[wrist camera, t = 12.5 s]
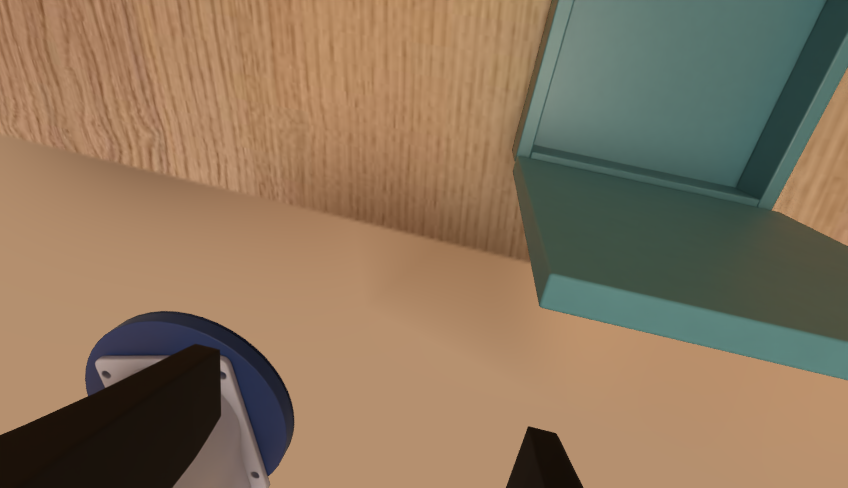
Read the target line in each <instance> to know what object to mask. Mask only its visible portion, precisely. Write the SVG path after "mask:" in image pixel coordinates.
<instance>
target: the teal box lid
mask: <svg viewBox="0 0 848 488" xmlns="http://www.w3.org/2000/svg"><path fill="white" fill-rule="evenodd" d="M513 175H514V180H515V185H516V190H517V195H518V200H519V205H520V210H521V215H522V220H523V225H524V231H525V236H526V241H527V246H528V251H529V256H530V261H531V266H532V271H533V276H534V281H535V286H536V291H537V297H538V302H539V306H540V307H542V308H545V309H549V310H553V311H558V312H562V313H566V314H571V315H574V316H579V317H583V318H588V319H591V320H596V321H600V322H604V323H608V324H613V325H617V326H621V327H625V328H629V329H634V330H638V331H642V332H646V333H651V334H655V335H659V336H663V337H668V338H672V339H676V340H680V341H684V342H688V343H693V344H697V345H701V346H705V347H710V348H714V349H718V350H722V351H727V352H731V353H735V354H739V355H743V356H748V357H752V358H756V359H760V360H765V361H769V362H773V363H777V364H781V365H785V366H790V367H794V368H798V369H802V370H807V371H811V372H815V373H819V374H823V375H828V376H832V377H836V378H841V379H844V380H848V246H846V245H844V244H842V243H840V242H838V241H836V240H834V239H832V238H830V237H828V236H826V235H824V234H822V233H820V232H818V231H816V230H814V229H812V228H810V227H808V226H806V225H804V224H802V223H800V222H798V221H796V220H794V219H792V218H790V217H788V216H786V215H784V214H782V213H780V212H776V211H771V210H767V209H762V208H757V207H753V206H748V205H743V204H739V203H734V202H730V201H725V200H720V199H716V198H711V197H706V196H702V195H697V194H692V193H688V192H683V191H678V190H674V189H669V188H664V187H660V186H655V185H651V184H646V183H641V182H637V181H632V180H627V179H623V178H618V177H613V176H609V175H604V174H599V173H595V172H590V171H585V170H581V169H576V168H571V167H567V166H562V165H558V164H553V163H548V162H544V161H539V160H534V159H530V158H525V157H520V156H517V158H516V161H515V165H514V169H513Z"/></svg>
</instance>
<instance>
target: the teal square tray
mask: <svg viewBox="0 0 848 488" xmlns="http://www.w3.org/2000/svg"><path fill="white" fill-rule="evenodd" d="M847 67H848V0H552V2H551V6H550V10H549V14H548V17H547V21H546V25H545V29H544V32H543V36H542V40H541V44H540V47H539V51H538V55H537V59H536V62H535V66H534V70H533V74H532V77H531V81H530V85H529V89H528V93H527V96H526V100H525V104H524V108H523V111H522V115H521V119H520V123H519V126H518V130H517V134H516V138H515V141H514V145H513V149H512V152H513V156H514V160H515V161H516V158H517V156H520V157H525V158H530V159H534V160H539V161H544V162H548V163H553V164H558V165H562V166H567V167H571V168H576V169H581V170H585V171H590V172H595V173H599V174H604V175H609V176H613V177H618V178H623V179H627V180H632V181H637V182H641V183H646V184H651V185H655V186H660V187H664V188H669V189H674V190H678V191H683V192H688V193H692V194H697V195H702V196H706V197H711V198H716V199H720V200H725V201H730V202H734V203H739V204H743V205H748V206H753V207H757V208H762V209H767V210H772V208H773V206H774V204H775V203H776V201H777V199H778V197H779V195H780V193H781V191H782V189H783V188H784V186H785V184H786V182H787V180H788V178H789V176H790V174H791V173H792V171H793V169H794V167H795V165H796V163H797V161H798V159H799V157H800V156H801V154H802V152H803V150H804V148H805V146H806V144H807V142H808V141H809V139H810V137H811V135H812V133H813V131H814V129H815V127H816V126H817V124H818V122H819V120H820V118H821V116H822V114H823V112H824V111H825V109H826V107H827V105H828V103H829V101H830V99H831V97H832V96H833V94H834V92H835V90H836V88H837V86H838V84H839V82H840V81H841V79H842V77H843V75H844V73H845V71H846V69H847Z"/></svg>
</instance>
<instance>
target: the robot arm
mask: <svg viewBox="0 0 848 488" xmlns="http://www.w3.org/2000/svg"><path fill="white" fill-rule="evenodd" d="M95 366H96V369H97V371H98V373H99V375H100V377H101V380H102V382H103V384H104V386H105V388H104V389H102V390H100V391H98V392H96V393H94V394H92V395H90V396H88V397H86V398H83V399H81V400H79V401H77V402H75V403H73V404H70V405H68V406H66V407H63V408H61V409H59V410H57V411H55V412H53V413H50V414H48V415H46V416H44V417H41V418H39V419H37V420H35V421H33V422H30V423H28V424H26V425H23V426H21V427H19V428H16V429H14V430H12V431H9V432H7V433H4V434H2V435H0V488H269V486H270V482H269V479H268V475H267V472H266V469H265V466H264V463H263V460H262V457H261V454H260V451H259V448H258V444H257V441H256V438H255V435H254V432H253V429H252V426H251V423H250V420H249V416H248V413H247V410H246V407H245V404H244V401H243V398H242V395H241V392H240V388H239V385H238V382H237V379H236V376H235V373H234V370H233V367H232V364H231V362H230V360H229V359H228V358H227V357H225V356H222V355H220V349H216V348H212V347H208V346H203V345H199V344H194V345H191V346H189V347H187V348H185V349H183V350H181V351H179V352H177V353H175V354H173V355H145V356H102V357H100V358H99V359H98V360H97V361H96V362H95ZM222 372H224V373H225V374H224V373H222ZM506 488H583V486H582V484H581V482H580V480H579V478H578V476H577V474H576V472H575V470H574V468H573V466H572V464H571V462H570V460H569V458H568V456H567V454H566V452H565V449H564V447H563V445H562V443H561V441H560V439H559V437H558V436H557V434H556V433H552V432H549V431H545V430H541V429H537V428H533V427H528V428H527V431H526V434H525V437H524V439H523V443H522V445H521V448H520V450H519V453H518V456H517V459H516V462H515V464H514V467H513V470H512V473H511V475H510V478H509V481H508V484H507V486H506Z"/></svg>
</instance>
